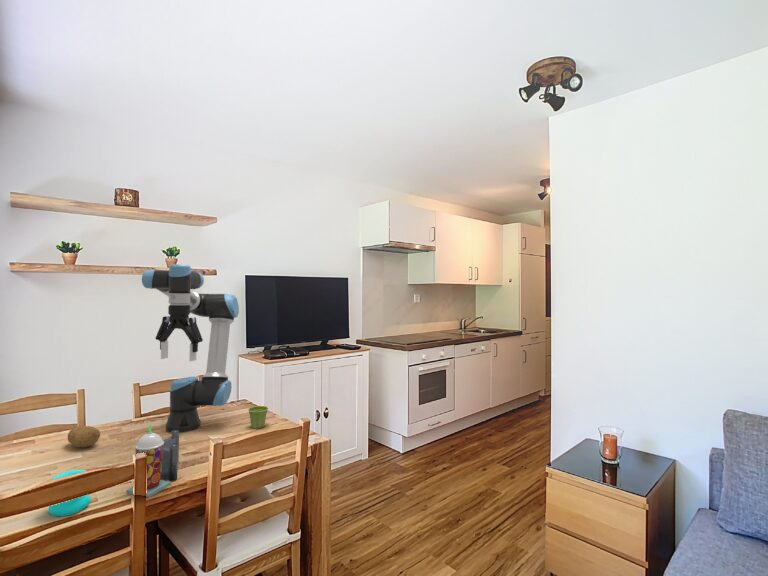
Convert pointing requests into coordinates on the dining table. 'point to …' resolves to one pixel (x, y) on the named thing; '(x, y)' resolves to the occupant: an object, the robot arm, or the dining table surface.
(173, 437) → the magazine holder
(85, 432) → the potato
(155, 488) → the pad
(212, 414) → the dining table surface
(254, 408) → the plant pot
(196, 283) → the robot arm
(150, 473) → the smoothie
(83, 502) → the teal ball
